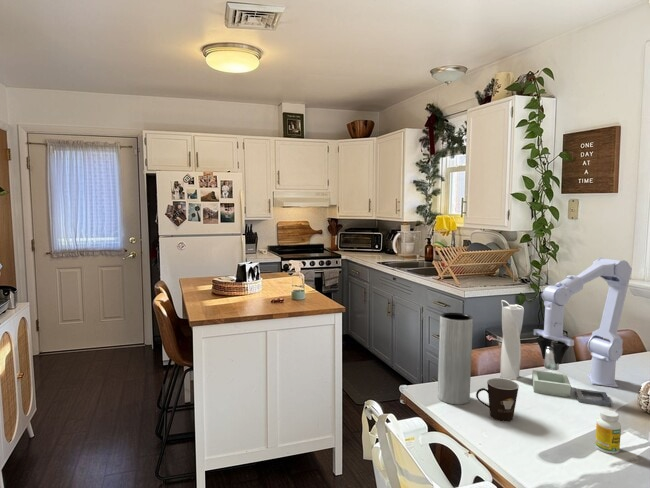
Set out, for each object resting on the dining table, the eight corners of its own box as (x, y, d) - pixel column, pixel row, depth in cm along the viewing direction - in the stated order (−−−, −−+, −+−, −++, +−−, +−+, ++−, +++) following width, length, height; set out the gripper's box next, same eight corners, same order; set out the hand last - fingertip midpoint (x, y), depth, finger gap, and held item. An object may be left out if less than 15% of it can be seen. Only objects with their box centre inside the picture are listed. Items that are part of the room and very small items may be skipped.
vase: (471, 395, 151) (474, 314, 149) (467, 407, 142) (470, 321, 140) (440, 390, 155) (443, 311, 153) (434, 401, 146) (437, 317, 144)
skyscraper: (495, 377, 167) (498, 301, 165) (499, 371, 174) (503, 297, 171) (518, 381, 163) (522, 304, 161) (522, 375, 170) (526, 300, 167)
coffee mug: (516, 412, 139) (517, 380, 138) (518, 425, 131) (519, 391, 130) (475, 406, 142) (476, 375, 142) (475, 418, 134) (476, 385, 134)
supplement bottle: (601, 441, 122) (603, 406, 121) (623, 450, 118) (626, 414, 117) (591, 447, 119) (593, 411, 118) (613, 456, 115) (615, 419, 114)
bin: (532, 380, 164) (532, 370, 164) (565, 385, 160) (566, 374, 160) (533, 392, 154) (534, 380, 154) (570, 397, 150) (570, 385, 150)
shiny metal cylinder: (541, 366, 158) (542, 345, 157) (551, 365, 160) (552, 344, 159) (551, 370, 154) (552, 349, 153) (561, 369, 155) (562, 348, 155)
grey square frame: (574, 391, 155) (574, 388, 155) (605, 395, 152) (605, 392, 152) (578, 402, 147) (579, 398, 147) (611, 406, 144) (611, 403, 143)
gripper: (527, 317, 160) (525, 355, 162) (564, 328, 147) (562, 369, 148) (542, 316, 163) (540, 353, 164) (579, 326, 150) (577, 366, 151)
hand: (551, 360), depth 157 cm, fingers closed on shiny metal cylinder, 4 cm apart
